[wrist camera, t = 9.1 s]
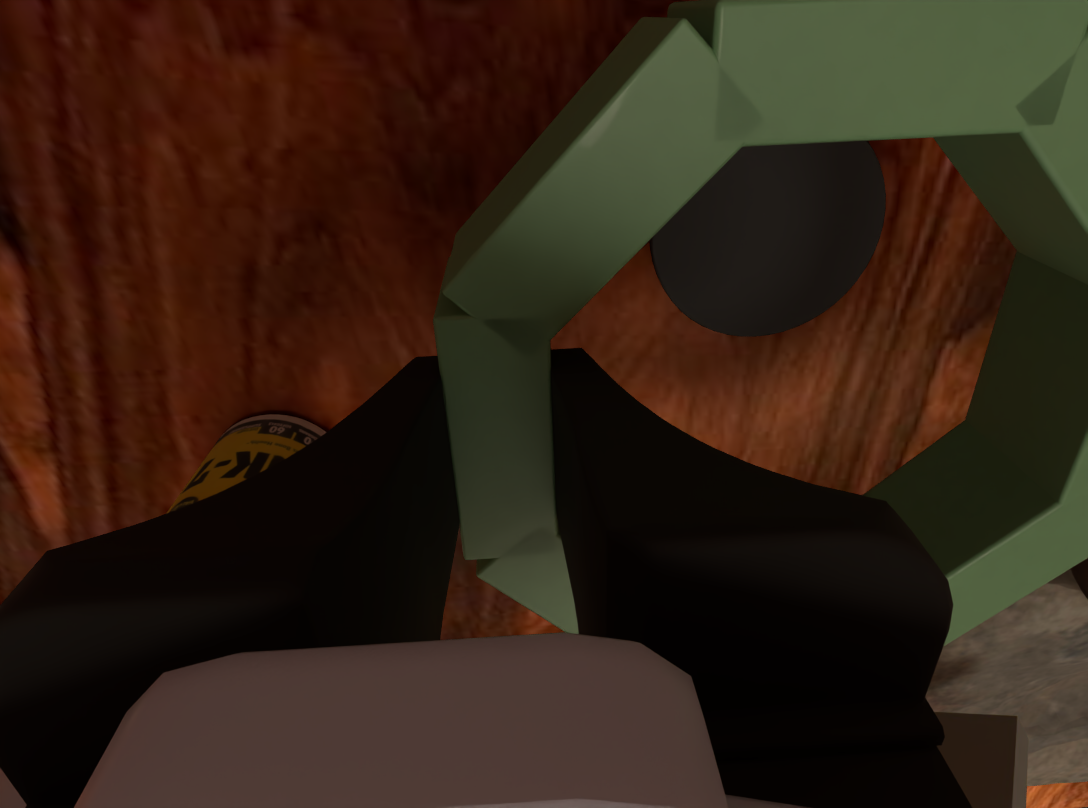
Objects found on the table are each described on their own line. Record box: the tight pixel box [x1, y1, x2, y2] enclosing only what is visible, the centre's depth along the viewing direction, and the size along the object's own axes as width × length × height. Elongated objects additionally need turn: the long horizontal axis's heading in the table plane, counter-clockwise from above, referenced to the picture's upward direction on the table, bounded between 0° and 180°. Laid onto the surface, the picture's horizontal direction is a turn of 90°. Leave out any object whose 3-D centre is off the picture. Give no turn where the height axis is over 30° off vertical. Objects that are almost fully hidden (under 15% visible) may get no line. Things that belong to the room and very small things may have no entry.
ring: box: [433, 0, 1088, 647], centre depth 12 cm, size 12×12×3 cm
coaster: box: [650, 141, 886, 336], centre depth 21 cm, size 7×7×1 cm
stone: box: [925, 569, 1088, 786], centre depth 29 cm, size 18×3×15 cm
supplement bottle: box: [166, 414, 326, 514], centre depth 21 cm, size 5×5×8 cm
